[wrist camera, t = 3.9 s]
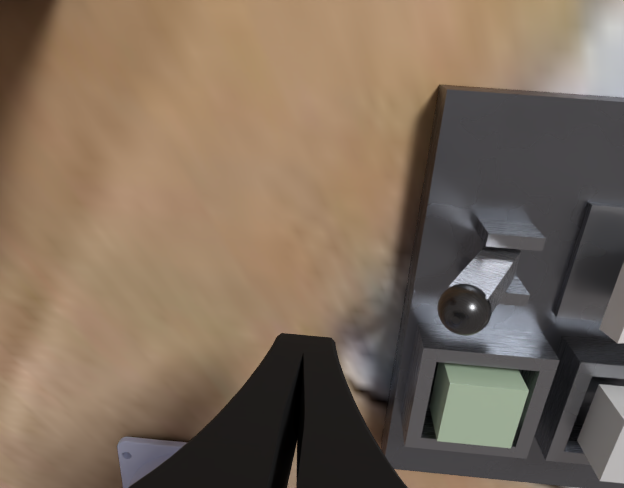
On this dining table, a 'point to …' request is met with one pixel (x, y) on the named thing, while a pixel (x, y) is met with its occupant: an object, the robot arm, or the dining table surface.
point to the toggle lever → (478, 290)
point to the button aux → (605, 434)
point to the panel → (516, 275)
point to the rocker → (615, 312)
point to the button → (477, 404)
